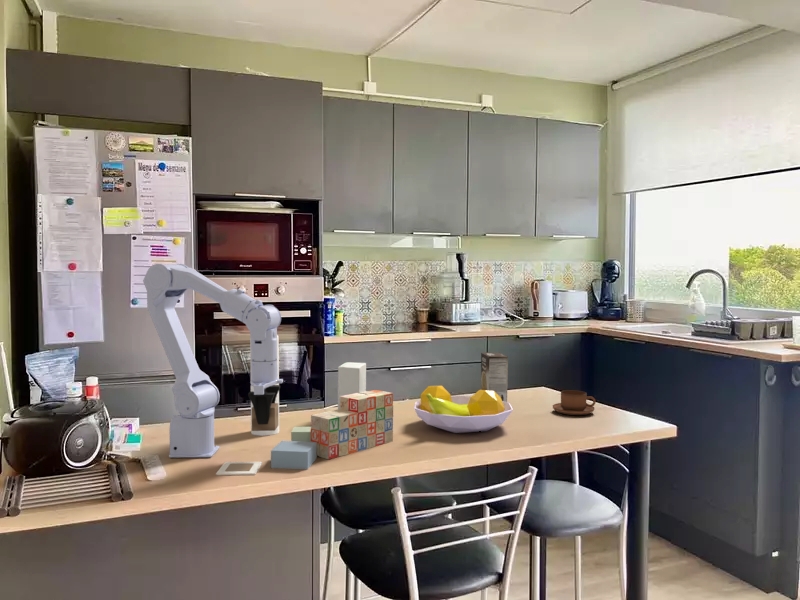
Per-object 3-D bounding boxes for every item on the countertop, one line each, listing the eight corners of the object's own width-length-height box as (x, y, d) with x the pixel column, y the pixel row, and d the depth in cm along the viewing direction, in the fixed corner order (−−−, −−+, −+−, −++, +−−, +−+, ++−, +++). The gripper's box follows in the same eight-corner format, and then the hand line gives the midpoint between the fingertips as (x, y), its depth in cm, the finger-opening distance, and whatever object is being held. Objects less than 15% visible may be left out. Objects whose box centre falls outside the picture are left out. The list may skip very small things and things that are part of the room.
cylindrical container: (265, 427, 173) (265, 334, 172) (285, 431, 169) (284, 335, 168) (245, 432, 168) (244, 336, 166) (264, 437, 164) (263, 338, 162)
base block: (271, 469, 138) (270, 450, 138) (281, 458, 146) (281, 440, 146) (307, 470, 138) (307, 451, 137) (316, 459, 145) (316, 441, 145)
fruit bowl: (468, 412, 193) (469, 374, 193) (533, 431, 170) (534, 388, 170) (388, 423, 178) (388, 382, 177) (447, 446, 155) (448, 399, 155)
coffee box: (480, 403, 206) (480, 352, 205) (499, 402, 206) (500, 352, 206) (487, 409, 197) (487, 356, 196) (507, 408, 197) (508, 355, 197)
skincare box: (345, 415, 188) (345, 361, 187) (367, 416, 187) (367, 362, 186) (336, 422, 180) (336, 366, 179) (359, 423, 178) (359, 366, 178)
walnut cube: (251, 430, 142) (251, 408, 142) (256, 425, 147) (255, 403, 147) (275, 430, 142) (274, 407, 142) (278, 425, 147) (278, 403, 147)
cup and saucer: (586, 408, 198) (587, 388, 198) (600, 417, 186) (600, 396, 186) (547, 409, 198) (548, 388, 198) (558, 418, 186) (559, 396, 186)
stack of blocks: (328, 460, 144) (328, 405, 144) (310, 455, 148) (309, 401, 148) (393, 441, 160) (393, 392, 160) (375, 437, 164) (375, 388, 164)
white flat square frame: (215, 474, 133) (215, 473, 133) (225, 463, 141) (225, 461, 141) (255, 474, 134) (255, 472, 134) (262, 463, 142) (262, 461, 142)
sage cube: (291, 453, 149) (291, 432, 149) (294, 447, 154) (294, 426, 154) (313, 453, 150) (313, 431, 149) (315, 447, 155) (315, 426, 154)
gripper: (277, 364, 137) (278, 428, 137) (287, 355, 151) (287, 413, 152) (243, 365, 136) (244, 429, 137) (256, 355, 151) (257, 413, 151)
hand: (265, 421), depth 144 cm, fingers closed on walnut cube, 5 cm apart
